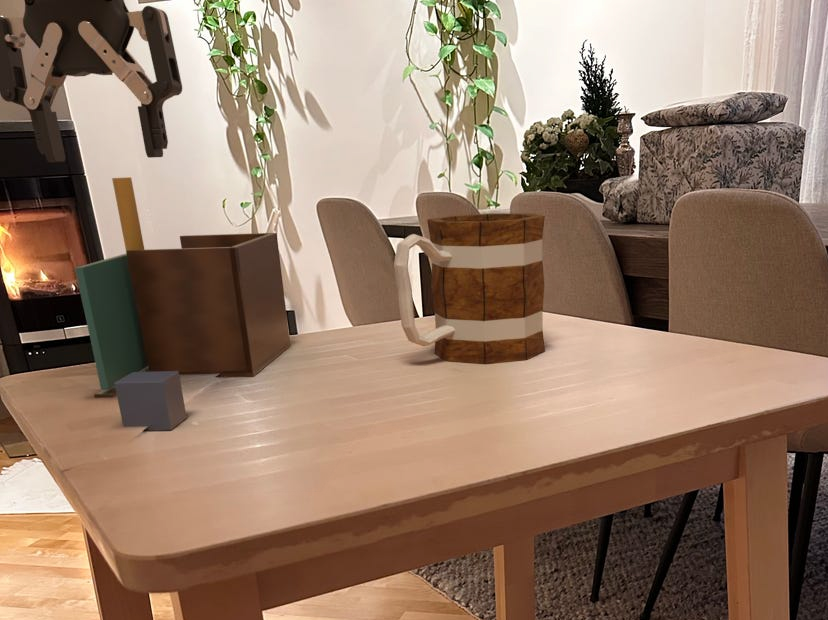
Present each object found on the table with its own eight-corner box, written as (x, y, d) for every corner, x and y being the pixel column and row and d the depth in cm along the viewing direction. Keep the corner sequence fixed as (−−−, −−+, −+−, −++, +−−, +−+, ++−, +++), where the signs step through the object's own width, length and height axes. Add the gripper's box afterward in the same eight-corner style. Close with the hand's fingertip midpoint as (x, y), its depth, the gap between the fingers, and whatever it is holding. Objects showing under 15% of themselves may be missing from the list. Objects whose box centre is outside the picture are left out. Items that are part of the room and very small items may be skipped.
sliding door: (95, 389, 99) (50, 183, 90) (153, 356, 114) (119, 177, 105) (114, 389, 99) (70, 183, 90) (169, 356, 114) (137, 176, 105)
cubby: (95, 401, 99) (64, 262, 93) (185, 348, 124) (165, 236, 118) (226, 399, 98) (204, 258, 92) (290, 346, 123) (276, 232, 117)
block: (124, 431, 88) (113, 382, 86) (141, 418, 92) (132, 371, 90) (171, 430, 88) (162, 381, 86) (187, 418, 92) (178, 370, 90)
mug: (494, 337, 124) (491, 211, 117) (568, 350, 114) (569, 215, 107) (370, 361, 113) (358, 224, 106) (440, 378, 104) (432, 229, 97)
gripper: (167, -75, 75) (202, 155, 82) (-7, -65, 76) (44, 162, 83) (131, -96, 68) (173, 157, 76) (-59, -85, 69) (1, 164, 77)
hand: (105, 159), depth 79 cm, fingers open, 8 cm apart
